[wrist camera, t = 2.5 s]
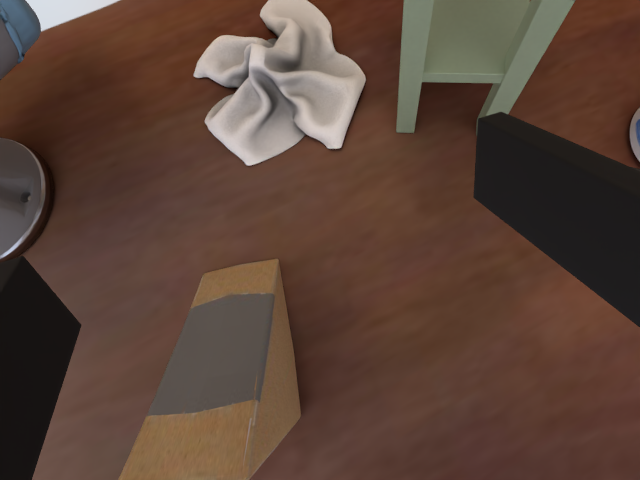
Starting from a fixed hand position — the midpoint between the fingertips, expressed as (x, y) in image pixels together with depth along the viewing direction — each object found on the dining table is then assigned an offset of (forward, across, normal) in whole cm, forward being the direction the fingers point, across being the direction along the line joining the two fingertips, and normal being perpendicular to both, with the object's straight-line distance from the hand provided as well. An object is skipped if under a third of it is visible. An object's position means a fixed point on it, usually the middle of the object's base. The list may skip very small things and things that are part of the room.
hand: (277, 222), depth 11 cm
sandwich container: (+17, -6, -23) cm, 29 cm away
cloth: (+37, +5, -4) cm, 37 cm away
